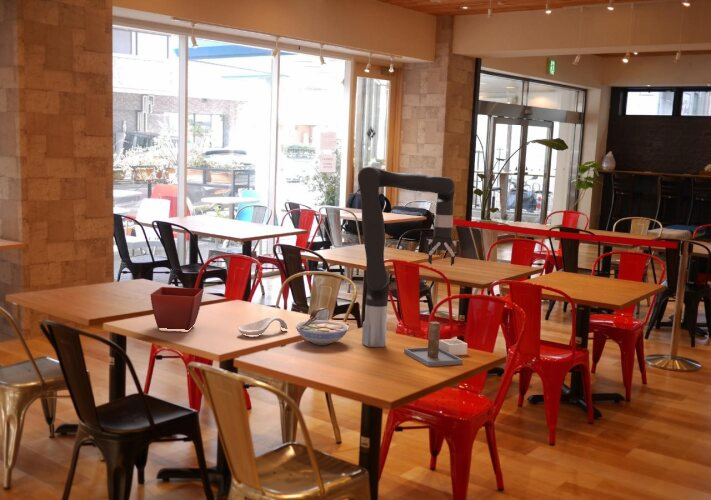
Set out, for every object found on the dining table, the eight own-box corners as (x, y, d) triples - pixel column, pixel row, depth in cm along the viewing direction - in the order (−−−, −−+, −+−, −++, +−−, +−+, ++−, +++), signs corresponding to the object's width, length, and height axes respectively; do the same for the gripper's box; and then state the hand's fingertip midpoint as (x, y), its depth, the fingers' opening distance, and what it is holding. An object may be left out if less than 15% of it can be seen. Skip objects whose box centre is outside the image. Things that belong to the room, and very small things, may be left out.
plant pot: (193, 335, 343) (194, 296, 341) (149, 333, 343) (149, 294, 341) (203, 325, 362) (203, 288, 360) (160, 323, 362) (161, 286, 360)
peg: (431, 358, 320) (433, 323, 318) (427, 356, 323) (429, 322, 321) (438, 357, 321) (440, 323, 319) (434, 355, 324) (436, 321, 322)
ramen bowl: (341, 352, 325) (342, 332, 324) (287, 347, 329) (287, 327, 328) (353, 338, 349) (354, 320, 348) (303, 334, 354) (303, 316, 353)
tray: (428, 366, 309) (428, 361, 309) (404, 352, 329) (404, 348, 328) (462, 364, 315) (462, 359, 315) (436, 350, 335) (437, 346, 334)
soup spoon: (324, 322, 380) (325, 305, 379) (330, 323, 379) (331, 305, 378) (308, 328, 367) (309, 309, 366) (314, 329, 366) (315, 310, 365)
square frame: (448, 355, 328) (449, 344, 327) (438, 350, 336) (438, 339, 335) (466, 354, 331) (467, 343, 331) (456, 349, 339) (456, 338, 338)
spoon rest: (248, 340, 338) (249, 324, 337) (232, 335, 347) (233, 319, 346) (292, 334, 354) (293, 318, 354) (276, 328, 363) (277, 313, 362)
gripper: (460, 225, 333) (458, 264, 335) (426, 224, 334) (424, 262, 336) (460, 227, 325) (458, 267, 327) (425, 225, 327) (423, 264, 329)
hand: (441, 264), depth 332 cm, fingers open, 8 cm apart
